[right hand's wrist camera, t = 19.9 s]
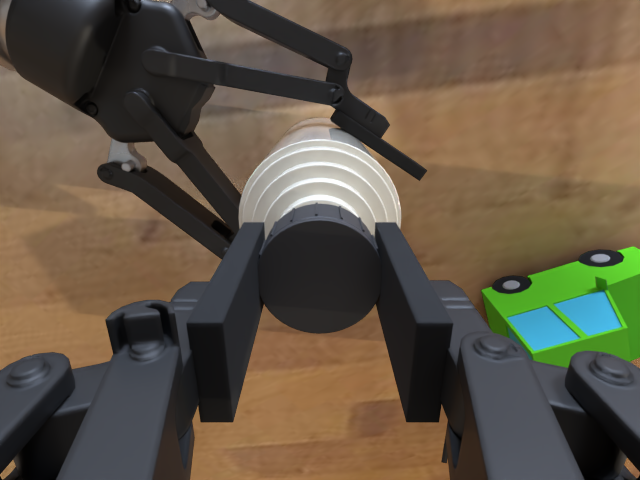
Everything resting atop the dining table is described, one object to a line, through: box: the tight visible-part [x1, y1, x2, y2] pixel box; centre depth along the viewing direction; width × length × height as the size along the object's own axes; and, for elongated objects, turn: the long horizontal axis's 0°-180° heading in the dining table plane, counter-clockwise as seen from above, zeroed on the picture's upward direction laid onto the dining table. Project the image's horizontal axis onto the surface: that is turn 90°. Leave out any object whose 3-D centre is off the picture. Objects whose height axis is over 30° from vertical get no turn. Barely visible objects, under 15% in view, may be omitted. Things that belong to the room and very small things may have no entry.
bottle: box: [239, 118, 401, 240], centre depth 22 cm, size 8×8×19 cm
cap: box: [258, 202, 382, 333], centre depth 14 cm, size 4×4×2 cm
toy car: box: [481, 247, 640, 368], centre depth 31 cm, size 10×13×10 cm
